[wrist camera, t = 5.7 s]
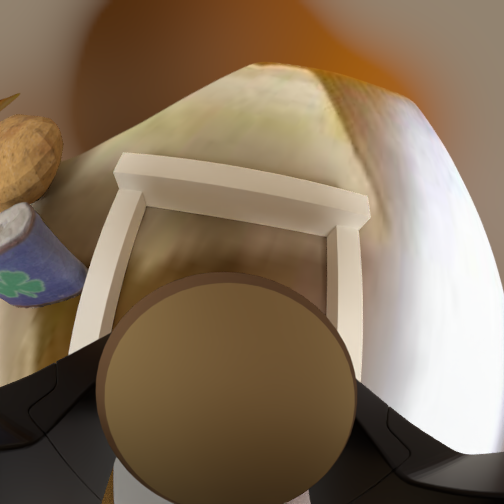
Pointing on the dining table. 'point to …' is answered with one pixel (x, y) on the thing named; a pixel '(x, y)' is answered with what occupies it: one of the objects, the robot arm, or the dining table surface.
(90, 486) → the robot arm
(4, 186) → the potato
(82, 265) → the flask
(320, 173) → the dining table surface
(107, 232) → the white frame
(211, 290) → the brown wooden cylinder
